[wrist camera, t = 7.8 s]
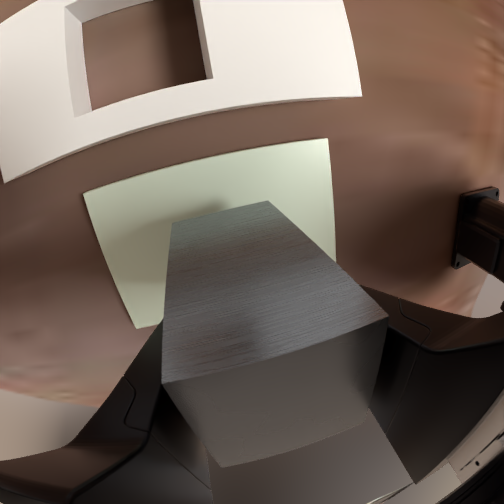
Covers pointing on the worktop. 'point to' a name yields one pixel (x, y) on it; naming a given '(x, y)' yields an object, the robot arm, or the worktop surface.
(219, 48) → the cream window plate
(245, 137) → the worktop surface
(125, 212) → the green pad
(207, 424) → the grey rectangular block
